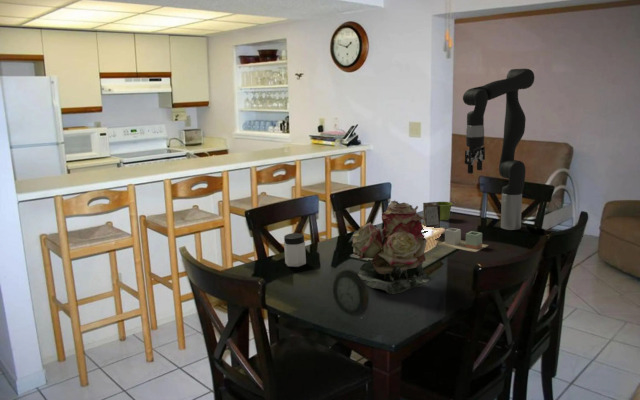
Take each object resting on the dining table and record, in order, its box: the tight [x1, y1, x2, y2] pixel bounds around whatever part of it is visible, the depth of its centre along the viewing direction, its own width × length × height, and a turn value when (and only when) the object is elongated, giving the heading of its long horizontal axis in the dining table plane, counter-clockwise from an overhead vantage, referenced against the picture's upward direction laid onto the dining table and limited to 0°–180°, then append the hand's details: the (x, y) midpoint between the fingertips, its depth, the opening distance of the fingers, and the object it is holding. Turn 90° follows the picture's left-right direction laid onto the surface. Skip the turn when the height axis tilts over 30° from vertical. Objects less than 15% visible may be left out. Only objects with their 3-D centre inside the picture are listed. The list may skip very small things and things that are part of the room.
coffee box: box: [422, 201, 441, 229], centre depth 243 cm, size 9×6×16 cm
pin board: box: [437, 239, 489, 253], centre depth 227 cm, size 12×18×6 cm, turn 46°
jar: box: [283, 232, 307, 268], centre depth 216 cm, size 9×8×12 cm
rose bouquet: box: [351, 200, 430, 295], centre depth 190 cm, size 26×29×30 cm
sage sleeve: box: [465, 230, 483, 249], centre depth 224 cm, size 5×5×6 cm
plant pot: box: [436, 201, 453, 222], centre depth 275 cm, size 9×9×9 cm
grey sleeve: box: [444, 227, 462, 245], centre depth 231 cm, size 5×5×6 cm
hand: (475, 171), depth 233 cm, fingers open, 8 cm apart
